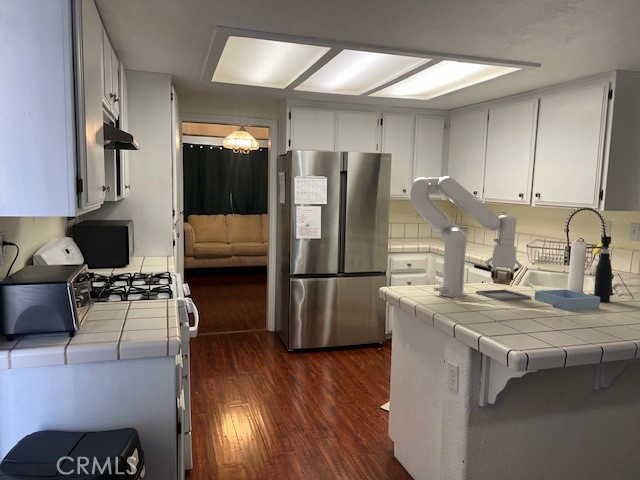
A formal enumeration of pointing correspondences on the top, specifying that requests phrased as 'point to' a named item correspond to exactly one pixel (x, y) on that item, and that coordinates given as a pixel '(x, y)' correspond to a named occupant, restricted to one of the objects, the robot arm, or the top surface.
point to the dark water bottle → (603, 273)
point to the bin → (568, 299)
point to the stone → (502, 275)
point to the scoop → (501, 281)
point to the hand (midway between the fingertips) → (501, 280)
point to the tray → (503, 295)
